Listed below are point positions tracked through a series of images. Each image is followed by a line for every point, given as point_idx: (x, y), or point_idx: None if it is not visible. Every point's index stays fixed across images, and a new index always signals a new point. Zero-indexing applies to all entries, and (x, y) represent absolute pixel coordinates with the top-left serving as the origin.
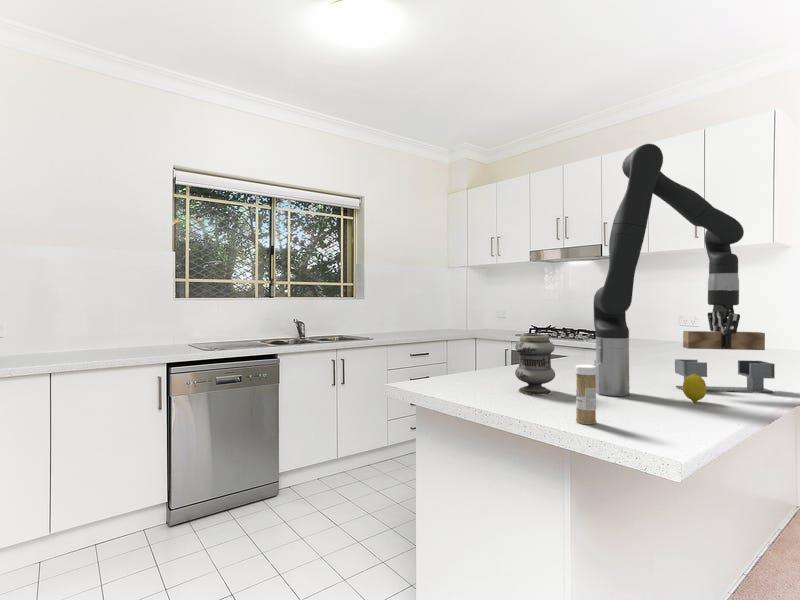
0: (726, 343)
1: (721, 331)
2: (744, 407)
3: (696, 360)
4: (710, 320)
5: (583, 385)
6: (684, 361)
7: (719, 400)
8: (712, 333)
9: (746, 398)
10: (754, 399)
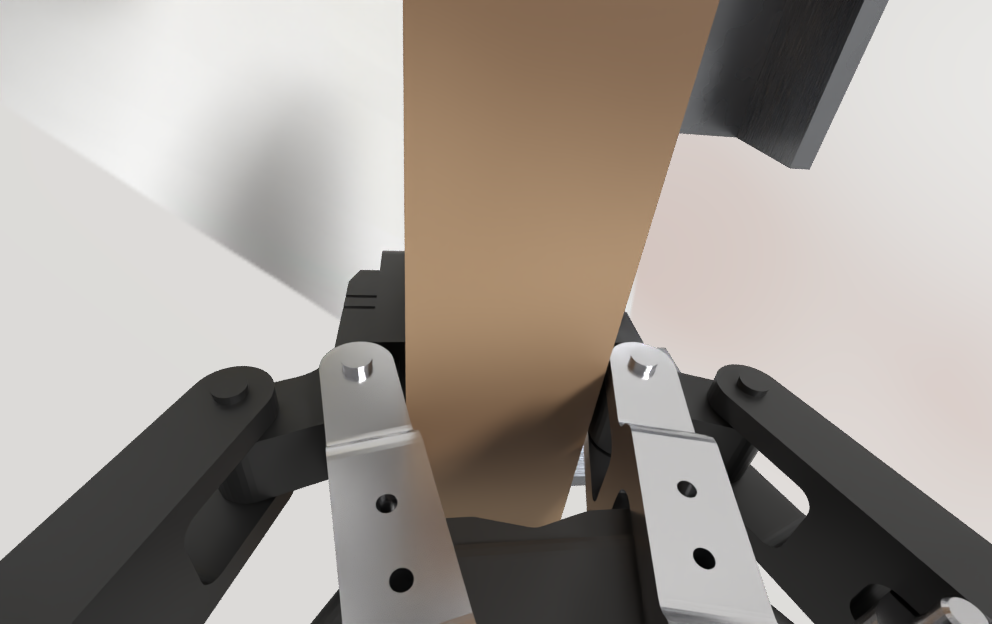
0: (348, 298)
1: (580, 430)
2: (119, 66)
3: (790, 158)
4: (879, 524)
5: None
6: (830, 48)
7: (305, 23)
8: (409, 234)
9: (400, 217)
10: (381, 241)
